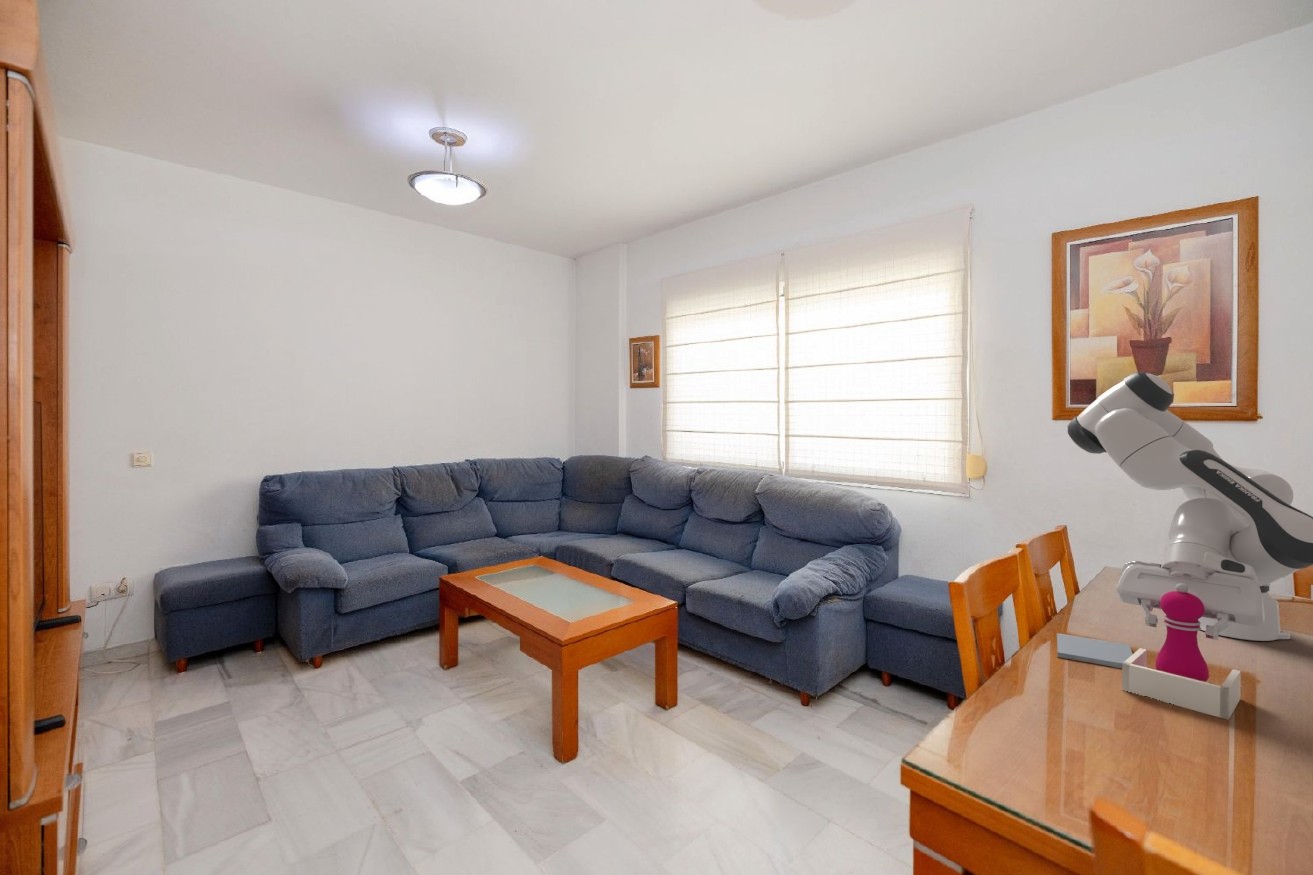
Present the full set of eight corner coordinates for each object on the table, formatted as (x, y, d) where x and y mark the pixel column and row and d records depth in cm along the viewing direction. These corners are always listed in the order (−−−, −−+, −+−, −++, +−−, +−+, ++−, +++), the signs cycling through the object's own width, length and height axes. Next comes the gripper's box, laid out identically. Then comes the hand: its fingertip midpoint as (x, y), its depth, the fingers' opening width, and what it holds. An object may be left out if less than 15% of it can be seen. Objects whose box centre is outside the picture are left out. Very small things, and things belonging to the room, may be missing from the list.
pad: (1056, 637, 134) (1056, 633, 134) (1129, 649, 126) (1129, 644, 126) (1057, 656, 122) (1057, 652, 122) (1137, 670, 115) (1137, 665, 115)
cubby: (1140, 673, 114) (1140, 647, 114) (1240, 698, 103) (1240, 670, 103) (1122, 690, 106) (1122, 663, 106) (1228, 719, 95) (1228, 689, 95)
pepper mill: (1219, 703, 101) (1220, 589, 101) (1171, 700, 102) (1172, 587, 102) (1190, 686, 108) (1191, 579, 108) (1146, 682, 109) (1146, 577, 109)
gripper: (1121, 550, 118) (1105, 607, 112) (1266, 568, 101) (1257, 636, 95) (1127, 568, 120) (1112, 625, 114) (1270, 589, 104) (1261, 657, 98)
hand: (1179, 630), depth 105 cm, fingers open, 7 cm apart
